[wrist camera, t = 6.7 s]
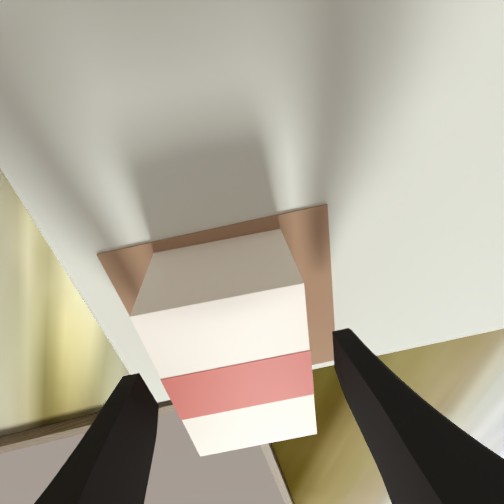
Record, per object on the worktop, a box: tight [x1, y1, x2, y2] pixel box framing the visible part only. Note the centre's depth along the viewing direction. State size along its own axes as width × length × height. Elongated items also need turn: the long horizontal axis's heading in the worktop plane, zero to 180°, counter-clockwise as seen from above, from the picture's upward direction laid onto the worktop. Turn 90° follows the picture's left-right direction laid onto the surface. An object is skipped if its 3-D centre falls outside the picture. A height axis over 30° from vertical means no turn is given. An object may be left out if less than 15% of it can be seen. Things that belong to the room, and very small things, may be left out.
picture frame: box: [0, 400, 294, 504], centre depth 22 cm, size 19×1×28 cm
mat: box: [0, 0, 504, 403], centre depth 12 cm, size 22×18×1 cm
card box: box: [130, 229, 317, 457], centre depth 12 cm, size 8×5×4 cm, turn 9°
